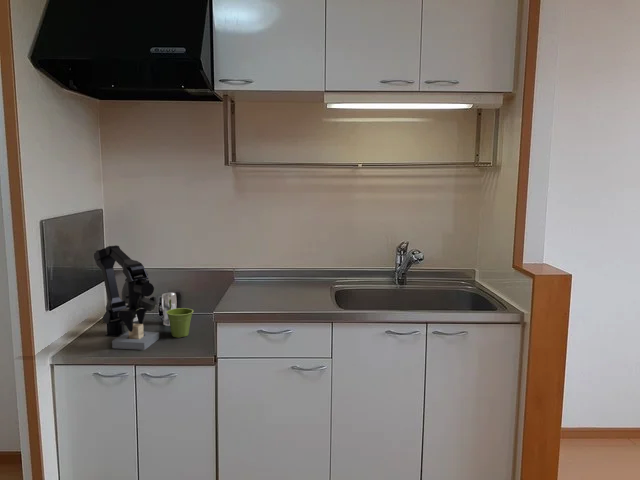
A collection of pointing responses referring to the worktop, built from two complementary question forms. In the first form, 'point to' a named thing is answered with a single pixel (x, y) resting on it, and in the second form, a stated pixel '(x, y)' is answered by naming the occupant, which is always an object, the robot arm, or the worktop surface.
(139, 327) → the maple peg
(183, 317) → the plant pot
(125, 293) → the wine bottle
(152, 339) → the socket block
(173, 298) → the beer glass
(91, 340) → the worktop surface
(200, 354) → the worktop surface
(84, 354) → the worktop surface
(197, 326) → the worktop surface
